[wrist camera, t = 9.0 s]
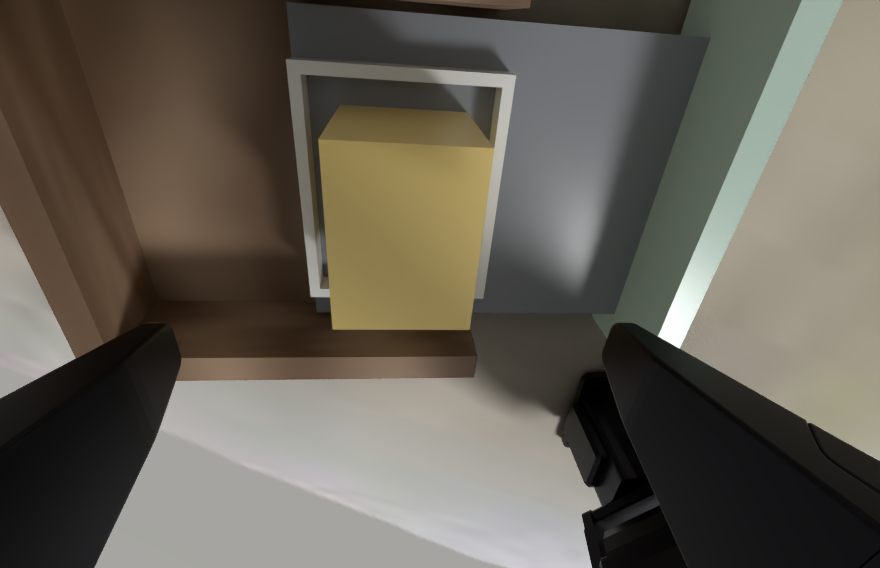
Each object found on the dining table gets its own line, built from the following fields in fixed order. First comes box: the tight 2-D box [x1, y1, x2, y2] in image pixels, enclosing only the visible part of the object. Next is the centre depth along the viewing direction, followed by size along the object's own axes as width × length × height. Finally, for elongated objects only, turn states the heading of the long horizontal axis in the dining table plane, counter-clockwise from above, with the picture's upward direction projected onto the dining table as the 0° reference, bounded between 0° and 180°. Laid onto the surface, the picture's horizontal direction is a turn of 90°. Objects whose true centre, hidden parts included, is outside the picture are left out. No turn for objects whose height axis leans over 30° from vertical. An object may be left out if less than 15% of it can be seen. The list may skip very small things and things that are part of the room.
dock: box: [0, 0, 531, 381], centre depth 16 cm, size 16×15×5 cm
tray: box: [286, 0, 843, 348], centre depth 17 cm, size 15×15×5 cm
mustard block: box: [318, 105, 494, 330], centre depth 15 cm, size 4×6×5 cm
